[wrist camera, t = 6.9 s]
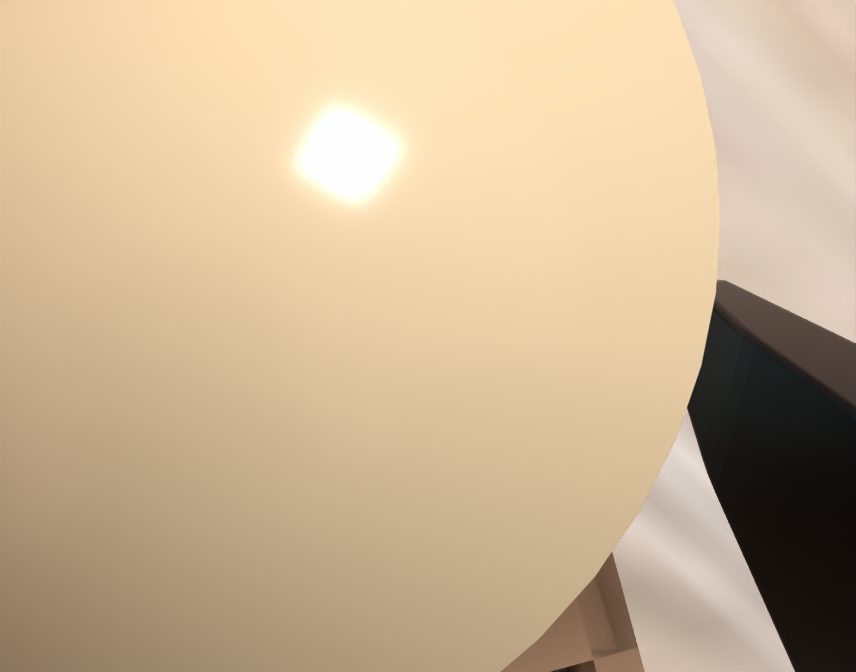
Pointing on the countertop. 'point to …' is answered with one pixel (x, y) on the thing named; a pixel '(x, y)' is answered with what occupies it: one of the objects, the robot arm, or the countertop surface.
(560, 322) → the tall jar
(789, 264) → the countertop surface
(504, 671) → the caddy
